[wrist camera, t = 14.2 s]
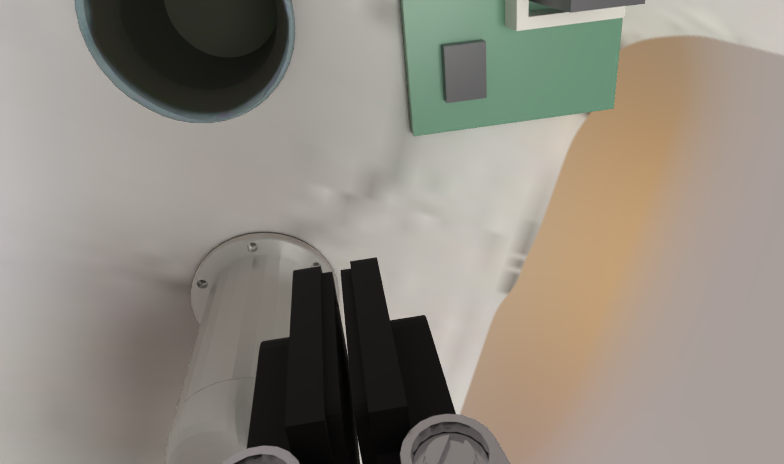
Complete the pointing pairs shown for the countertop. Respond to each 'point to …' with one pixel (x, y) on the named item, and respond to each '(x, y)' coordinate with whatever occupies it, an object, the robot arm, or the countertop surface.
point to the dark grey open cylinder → (191, 52)
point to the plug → (586, 4)
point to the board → (506, 62)
